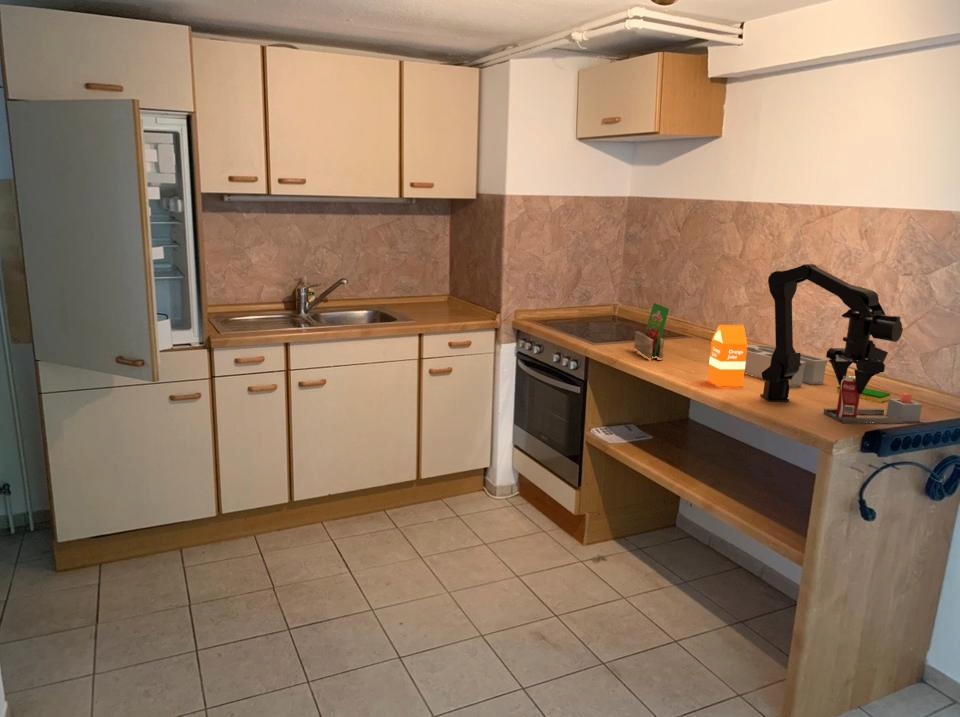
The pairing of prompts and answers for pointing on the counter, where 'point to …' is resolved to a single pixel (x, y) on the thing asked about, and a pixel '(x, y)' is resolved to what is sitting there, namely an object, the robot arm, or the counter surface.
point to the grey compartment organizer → (808, 373)
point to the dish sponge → (872, 395)
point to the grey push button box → (904, 410)
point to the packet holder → (647, 345)
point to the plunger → (905, 397)
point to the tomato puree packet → (656, 325)
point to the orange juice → (728, 356)
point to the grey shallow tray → (863, 419)
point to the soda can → (848, 398)
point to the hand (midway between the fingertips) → (850, 389)
